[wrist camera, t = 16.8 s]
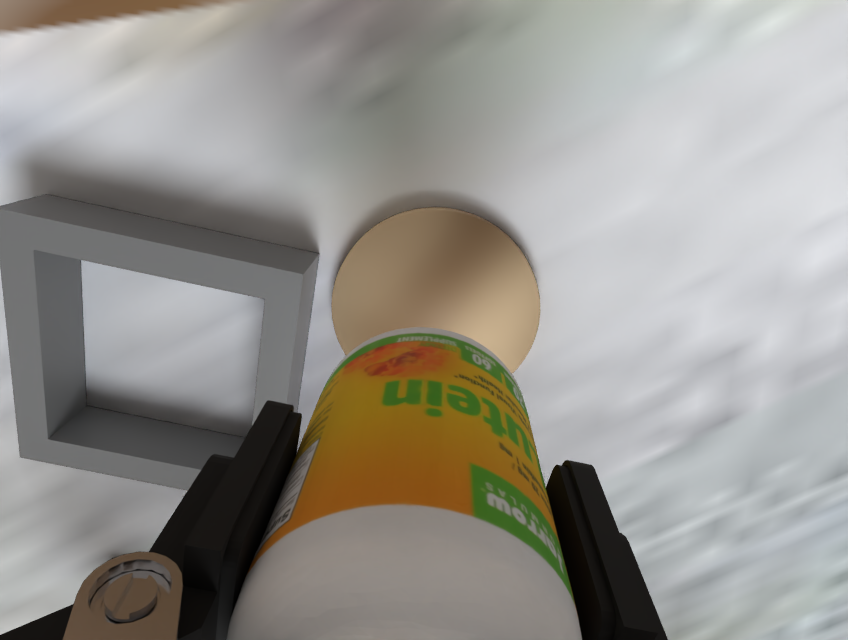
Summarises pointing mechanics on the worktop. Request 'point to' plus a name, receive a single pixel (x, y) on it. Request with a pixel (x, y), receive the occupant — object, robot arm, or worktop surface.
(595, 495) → the robot arm
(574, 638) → the supplement bottle
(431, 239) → the coaster
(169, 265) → the socket
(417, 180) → the worktop surface
